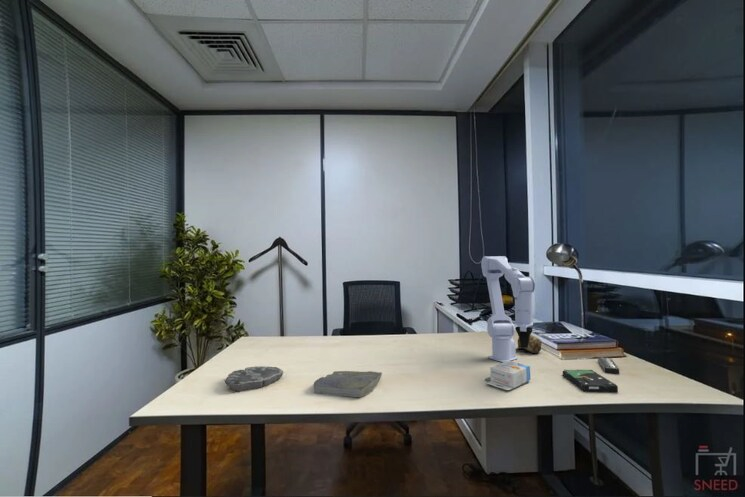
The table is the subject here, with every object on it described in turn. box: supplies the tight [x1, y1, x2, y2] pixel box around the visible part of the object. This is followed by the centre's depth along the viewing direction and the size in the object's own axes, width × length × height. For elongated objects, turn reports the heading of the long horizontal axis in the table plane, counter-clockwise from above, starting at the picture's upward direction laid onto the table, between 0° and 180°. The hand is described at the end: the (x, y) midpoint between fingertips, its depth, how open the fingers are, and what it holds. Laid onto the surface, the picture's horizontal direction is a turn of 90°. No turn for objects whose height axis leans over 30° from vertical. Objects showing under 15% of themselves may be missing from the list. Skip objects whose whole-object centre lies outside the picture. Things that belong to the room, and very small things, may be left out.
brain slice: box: [224, 365, 284, 392], centre depth 116 cm, size 20×17×3 cm
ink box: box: [486, 360, 531, 391], centre depth 112 cm, size 8×5×15 cm
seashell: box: [517, 333, 542, 354], centre depth 149 cm, size 11×9×8 cm
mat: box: [484, 376, 529, 389], centre depth 113 cm, size 10×10×1 cm
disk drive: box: [562, 369, 619, 393], centre depth 111 cm, size 10×3×15 cm
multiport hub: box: [597, 356, 620, 375], centre depth 126 cm, size 4×14×2 cm, turn 154°
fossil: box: [313, 370, 383, 398], centre depth 111 cm, size 20×5×17 cm
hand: (524, 347), depth 119 cm, fingers closed
